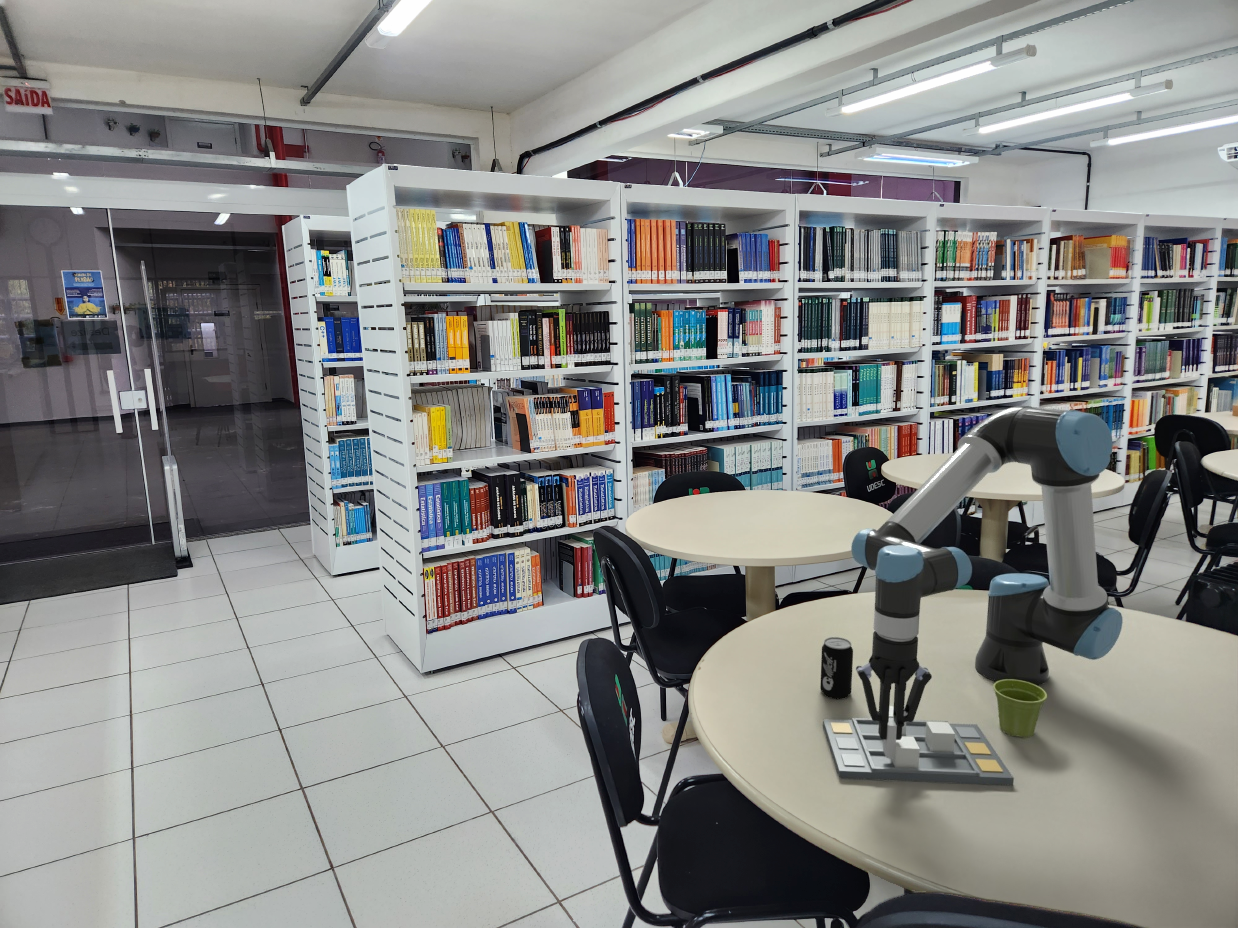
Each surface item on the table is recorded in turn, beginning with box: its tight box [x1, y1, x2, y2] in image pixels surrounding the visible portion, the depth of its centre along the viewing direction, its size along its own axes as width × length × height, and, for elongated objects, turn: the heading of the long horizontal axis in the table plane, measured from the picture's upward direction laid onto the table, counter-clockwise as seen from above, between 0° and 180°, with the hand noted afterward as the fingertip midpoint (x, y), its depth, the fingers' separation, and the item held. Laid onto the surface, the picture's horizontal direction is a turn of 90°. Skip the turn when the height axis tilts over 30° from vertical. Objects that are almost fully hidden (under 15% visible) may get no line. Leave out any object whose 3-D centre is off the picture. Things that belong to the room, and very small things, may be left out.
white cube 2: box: [925, 721, 955, 752], centre depth 144 cm, size 4×4×4 cm
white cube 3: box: [892, 736, 920, 768], centre depth 139 cm, size 4×4×4 cm
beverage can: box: [820, 636, 854, 700], centre depth 167 cm, size 7×7×12 cm
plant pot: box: [992, 679, 1048, 739], centre depth 152 cm, size 9×9×9 cm
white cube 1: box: [889, 705, 906, 735], centre depth 150 cm, size 4×4×4 cm
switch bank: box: [822, 717, 1015, 787], centre depth 145 cm, size 30×18×2 cm, turn 84°
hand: (888, 754), depth 140 cm, fingers closed
